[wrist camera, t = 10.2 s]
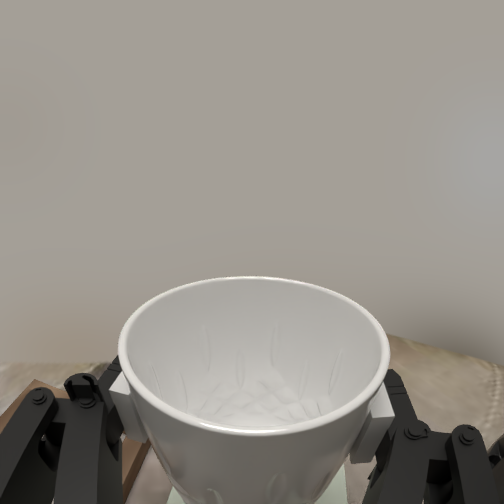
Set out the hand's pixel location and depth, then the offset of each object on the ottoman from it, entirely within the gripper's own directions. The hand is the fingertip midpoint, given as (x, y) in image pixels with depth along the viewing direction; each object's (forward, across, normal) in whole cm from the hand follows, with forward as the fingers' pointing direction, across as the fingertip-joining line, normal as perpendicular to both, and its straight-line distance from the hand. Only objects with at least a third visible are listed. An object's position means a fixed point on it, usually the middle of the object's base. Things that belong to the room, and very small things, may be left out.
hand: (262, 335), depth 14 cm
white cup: (-5, 0, -7) cm, 8 cm away
